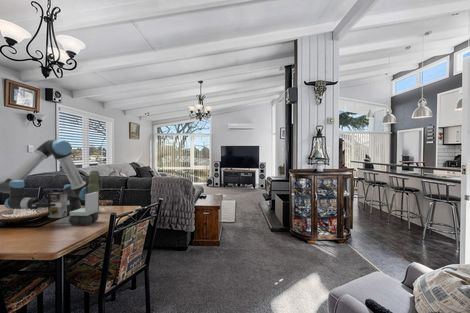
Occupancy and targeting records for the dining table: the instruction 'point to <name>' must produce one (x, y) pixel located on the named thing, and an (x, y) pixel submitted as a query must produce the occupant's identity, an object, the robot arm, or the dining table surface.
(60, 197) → the coffee box
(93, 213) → the cart
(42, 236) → the dining table surface
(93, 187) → the thermos
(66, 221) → the chock mat
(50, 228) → the dining table surface
